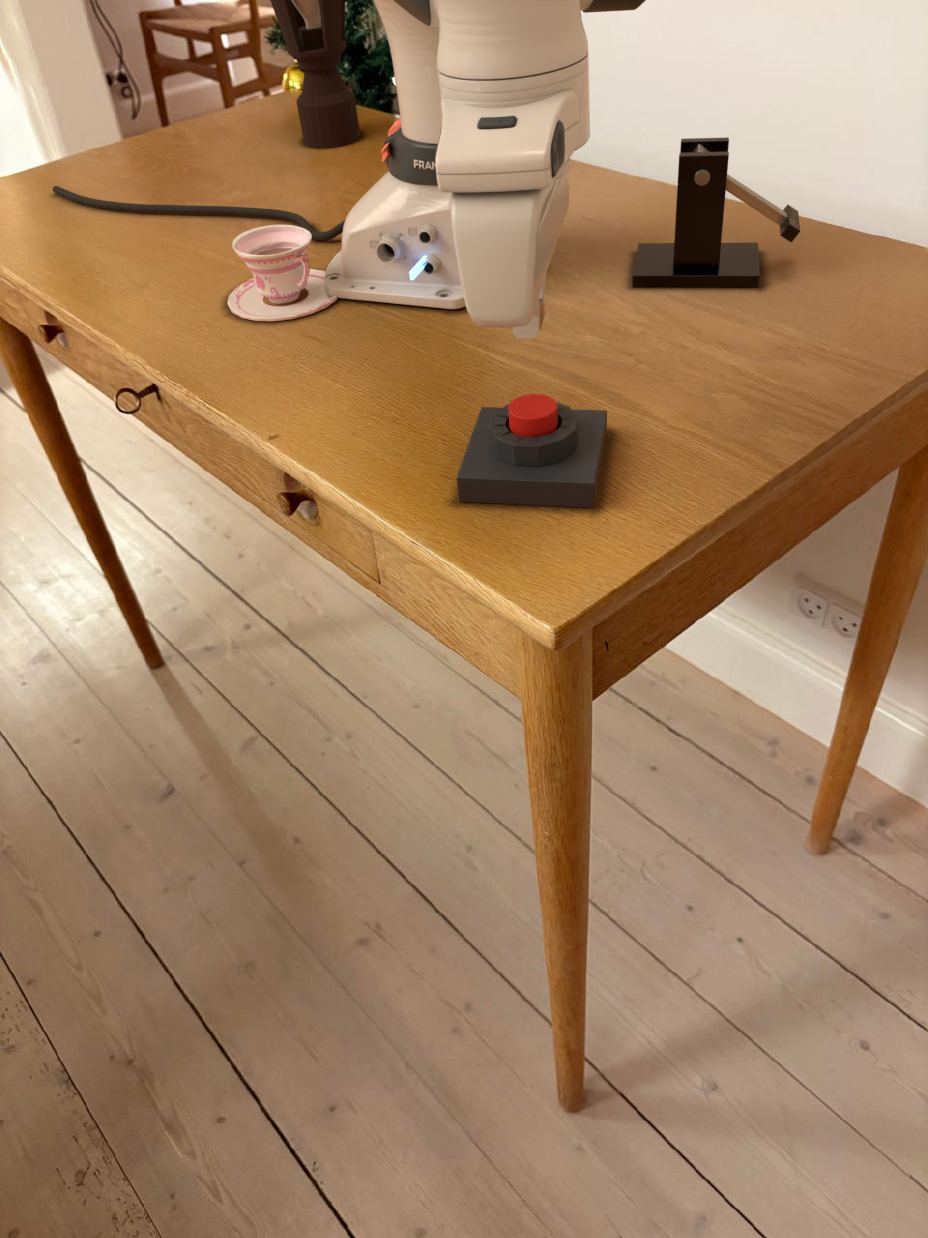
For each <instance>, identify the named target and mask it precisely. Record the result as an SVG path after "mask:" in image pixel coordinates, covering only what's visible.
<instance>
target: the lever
mask: <svg viewBox="0 0 928 1238" xmlns="http://www.w3.org/2000/svg"><path fill="white" fill-rule="evenodd" d="M693 152H711V151H709V150H708V149H706V148H705V147H703V146H702V145H700V144H698V145H697V147H696V148H695V150H694V151H693ZM726 192H728V193H729V194H731V195H732V196H734V197H735V198H737V199H739V200H740V201H741V202H743V203H744V204H746V205H748V206H749V207H751V208H752V209H753V210H755V211H757V212H758V213H759V214H761V215H763V216H764V217H766V218H767V219H769V220H771V221H772V222H774V223H775V224H777V225H778V226H779V236H780V237H781V238H783V239H785V240H786V241H788V242H789V243H793V242H794V241H795V239H796V238H797V237H798V236H799V234H800V233H801V224H800V214H799V211H798V210H797V209H795V207H792V205H790V204H786V206H785V207H784V208H783V209H781V207H778V206H777V205H775V204H774V203H772V202H771V201H769V200H768V199H766V198H765V197H763V196H762V195H760V194H759V193H757V192H755V191H754V190H753V189H751V188H750V187H748V186H746V185H745V184H743V183H742V182H740V181H739V180H737V179H736V178H734V177H733V176H731V175H730V174H728V173H727V182H726Z"/></svg>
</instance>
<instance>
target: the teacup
mask: <svg viewBox="0 0 928 1238" xmlns="http://www.w3.org/2000/svg"><path fill="white" fill-rule="evenodd" d="M312 240H313V239H312V235H311V233H310V232H309V231H308V230H306V229H304V228H302V227H301V226H297V225H293V224H269V225H263V226H257V227H254V228H251V229H247V230H245V231H242V232H241V233H239V234H238V235H237V236H236V237H235V238H234V239H233V240H232V243H231V247H232V249H233V251H234V253H235V255H236V256H237V257H238V258H239V259H241V261H243V262H244V264H245V267H246V268H247V269H248V270H249V271H250V272H251V275H252V278H250V279H248V280H246V281H245V282H243V283H241V284H240V285H238V286H237V287H235V288H234V289H233V290H232V291H231V293H230V294H229V295H228V298H227V307H228V308H229V310H230V311H231V313H232V314H234V315H235V316H238V317H239V318H241V319H246V320H250V321H253V322H254V321H255V322H279V321H280V322H281V321H287V320H295V319H299V318H302V317H306V316H310V315H312V314H314V313H317V312H320V311H322V310H324V309H326V308H328V307H329V306H330V305H331V304H333V303H335V302H336V301H337V300H338V299H339V298H337V296H336V295H335V296H332V297H331V296H329V295H328V294H327V292H326V290H325V285H324V275H325V271H326V270H321V269H316V268H311V267H310V266H311V265H310V262H309V257H308V254H307V250H308V249H309V247H310V245H311V242H312ZM302 290H306V291H307V294H308V295H307V296H306V298H304V299H302V300H300V301H298V302H295V303H293V304H289V303H292V302H294V301H296V300H297V299H299V298H300V296H301V295H300V294H301V292H302ZM264 298H266V299H267V300H268V301H269V303H271V304H274V305H269V304H267V303H265V301H264ZM281 304H289V305H281ZM277 305H278V306H277ZM279 305H281V306H279Z"/></svg>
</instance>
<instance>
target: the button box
mask: <svg viewBox="0 0 928 1238" xmlns="http://www.w3.org/2000/svg"><path fill="white" fill-rule="evenodd" d="M556 403H557V410H558V427H557V429H556V430H555V431H554V432H553V433H551V434H547V435H544V436H540V437H521V436H519V435H516V434H513V433H512V432H511V431H510V428H509V412H508V407H509V404H506V405H504V406H503V407H499V406H498V407H497V406H496V407H494V406H493V407H492V406H487V407H486V406H482V407H481V408H480V410H479V414H478V416H477V419H476V422H475V424H474V427H473V431H472V433H471V436H470V438H469V443H468V445H467V448H466V450H465V452H464V455H463V459H462V462H461V465H460V467H459V470H458V473H457V476H456V485H457V493H458V501H459V503H479V504H496V505H497V504H501V505H522V506H539V507H541V506H543V507H563V508H564V507H565V508H583V509H584V508H585V509H587V508H588V509H594V508H595V505H596V499H597V494H598V488H599V482H600V476H601V471H602V465H603V458H604V452H605V447H606V441H607V436H608V410H606V409H605V410H602V409H600V410H599V409H574V408H573V409H572V408H571V407H570V406H569V405H566V404H563V403H560V402H558V401H556Z"/></svg>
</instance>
